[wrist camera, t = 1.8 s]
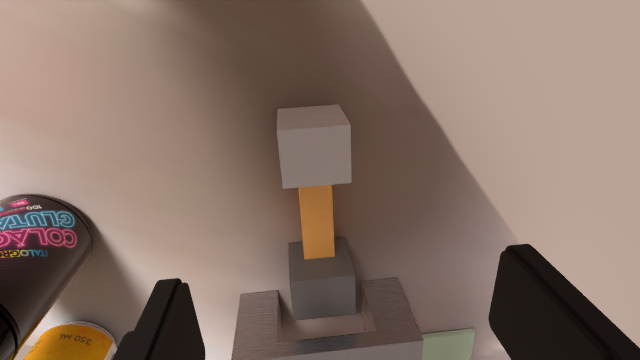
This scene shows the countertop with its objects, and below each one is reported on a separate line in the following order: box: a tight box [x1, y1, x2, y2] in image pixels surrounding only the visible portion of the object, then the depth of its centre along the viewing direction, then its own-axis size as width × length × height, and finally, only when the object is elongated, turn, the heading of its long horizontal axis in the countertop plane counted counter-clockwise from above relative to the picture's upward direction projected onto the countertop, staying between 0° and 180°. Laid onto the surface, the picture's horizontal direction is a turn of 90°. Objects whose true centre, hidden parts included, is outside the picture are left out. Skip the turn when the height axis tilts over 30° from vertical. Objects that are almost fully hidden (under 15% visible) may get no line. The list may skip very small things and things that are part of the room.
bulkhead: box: [231, 278, 424, 360], centre depth 28 cm, size 4×13×6 cm, turn 93°
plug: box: [277, 104, 356, 321], centre depth 25 cm, size 14×4×5 cm, turn 3°
